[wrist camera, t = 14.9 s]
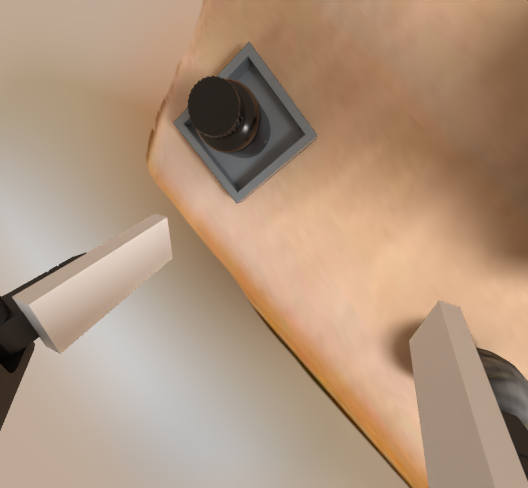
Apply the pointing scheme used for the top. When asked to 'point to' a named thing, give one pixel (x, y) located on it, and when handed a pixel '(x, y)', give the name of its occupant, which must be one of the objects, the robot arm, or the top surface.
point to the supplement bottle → (228, 117)
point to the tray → (281, 134)
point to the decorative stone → (506, 384)
